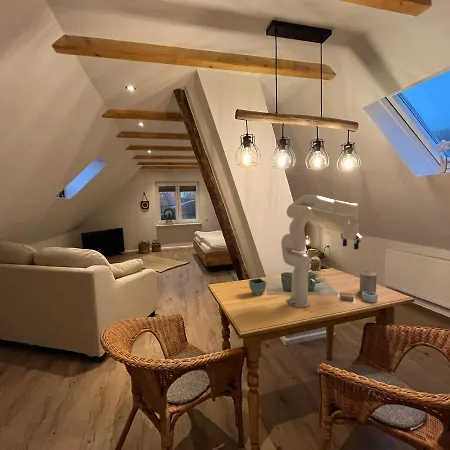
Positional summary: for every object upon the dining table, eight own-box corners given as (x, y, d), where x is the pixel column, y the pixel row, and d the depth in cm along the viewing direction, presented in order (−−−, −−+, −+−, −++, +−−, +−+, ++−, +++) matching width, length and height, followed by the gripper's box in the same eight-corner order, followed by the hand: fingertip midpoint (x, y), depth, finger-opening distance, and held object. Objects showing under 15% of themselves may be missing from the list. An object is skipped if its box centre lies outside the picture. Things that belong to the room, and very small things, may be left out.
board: (353, 301, 172) (353, 296, 172) (341, 300, 174) (341, 295, 174) (351, 297, 179) (352, 292, 178) (340, 296, 181) (340, 291, 180)
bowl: (371, 303, 169) (371, 296, 169) (359, 299, 176) (359, 292, 176) (379, 301, 173) (380, 294, 173) (367, 296, 180) (368, 289, 180)
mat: (356, 304, 169) (356, 303, 169) (339, 302, 172) (339, 301, 172) (353, 296, 181) (353, 295, 181) (337, 295, 184) (337, 294, 184)
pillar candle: (364, 289, 193) (365, 268, 191) (378, 293, 185) (379, 271, 183) (356, 292, 188) (357, 270, 185) (370, 297, 179) (371, 274, 177)
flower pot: (255, 297, 183) (255, 284, 182) (248, 292, 191) (248, 280, 190) (266, 294, 187) (266, 281, 185) (259, 290, 195) (259, 278, 193)
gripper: (337, 221, 192) (336, 245, 194) (357, 224, 176) (356, 250, 179) (345, 220, 195) (344, 244, 197) (366, 223, 179) (365, 249, 181)
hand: (350, 247), depth 188 cm, fingers open, 9 cm apart
